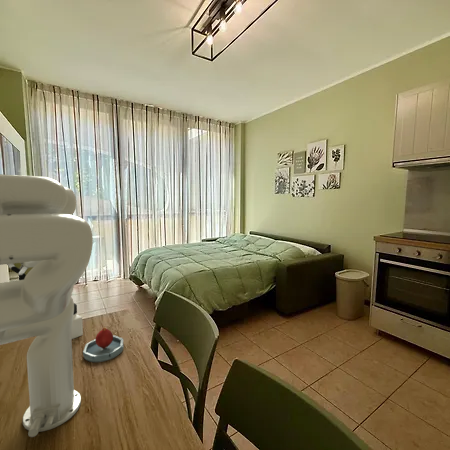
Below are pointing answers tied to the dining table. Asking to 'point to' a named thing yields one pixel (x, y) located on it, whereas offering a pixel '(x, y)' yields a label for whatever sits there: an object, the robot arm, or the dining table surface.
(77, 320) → the container
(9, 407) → the dining table surface
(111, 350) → the dish
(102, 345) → the onion
